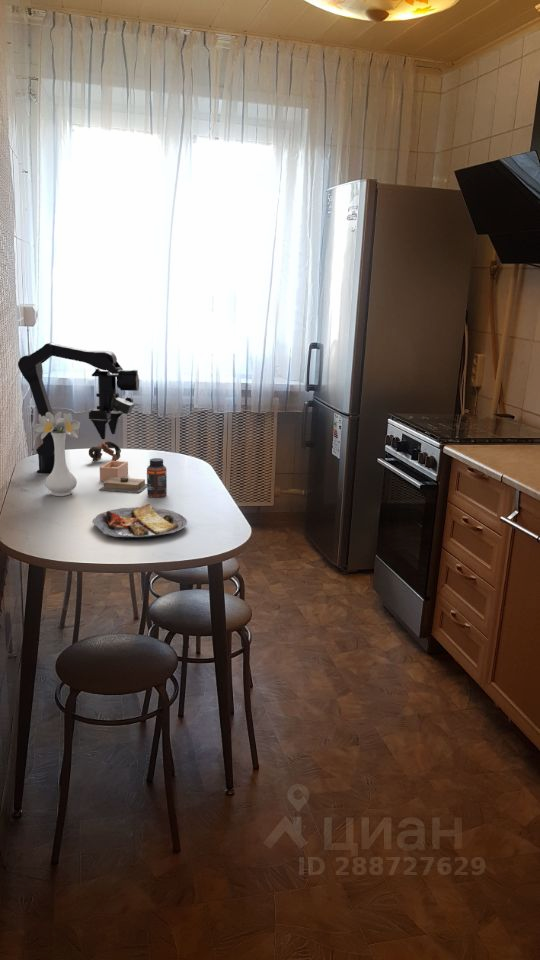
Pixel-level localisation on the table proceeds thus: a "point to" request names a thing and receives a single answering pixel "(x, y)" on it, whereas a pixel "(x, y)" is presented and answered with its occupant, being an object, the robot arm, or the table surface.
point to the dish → (113, 470)
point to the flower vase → (59, 451)
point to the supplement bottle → (156, 478)
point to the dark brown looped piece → (106, 449)
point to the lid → (124, 483)
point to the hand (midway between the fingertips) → (108, 436)
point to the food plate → (139, 521)
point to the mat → (124, 490)
